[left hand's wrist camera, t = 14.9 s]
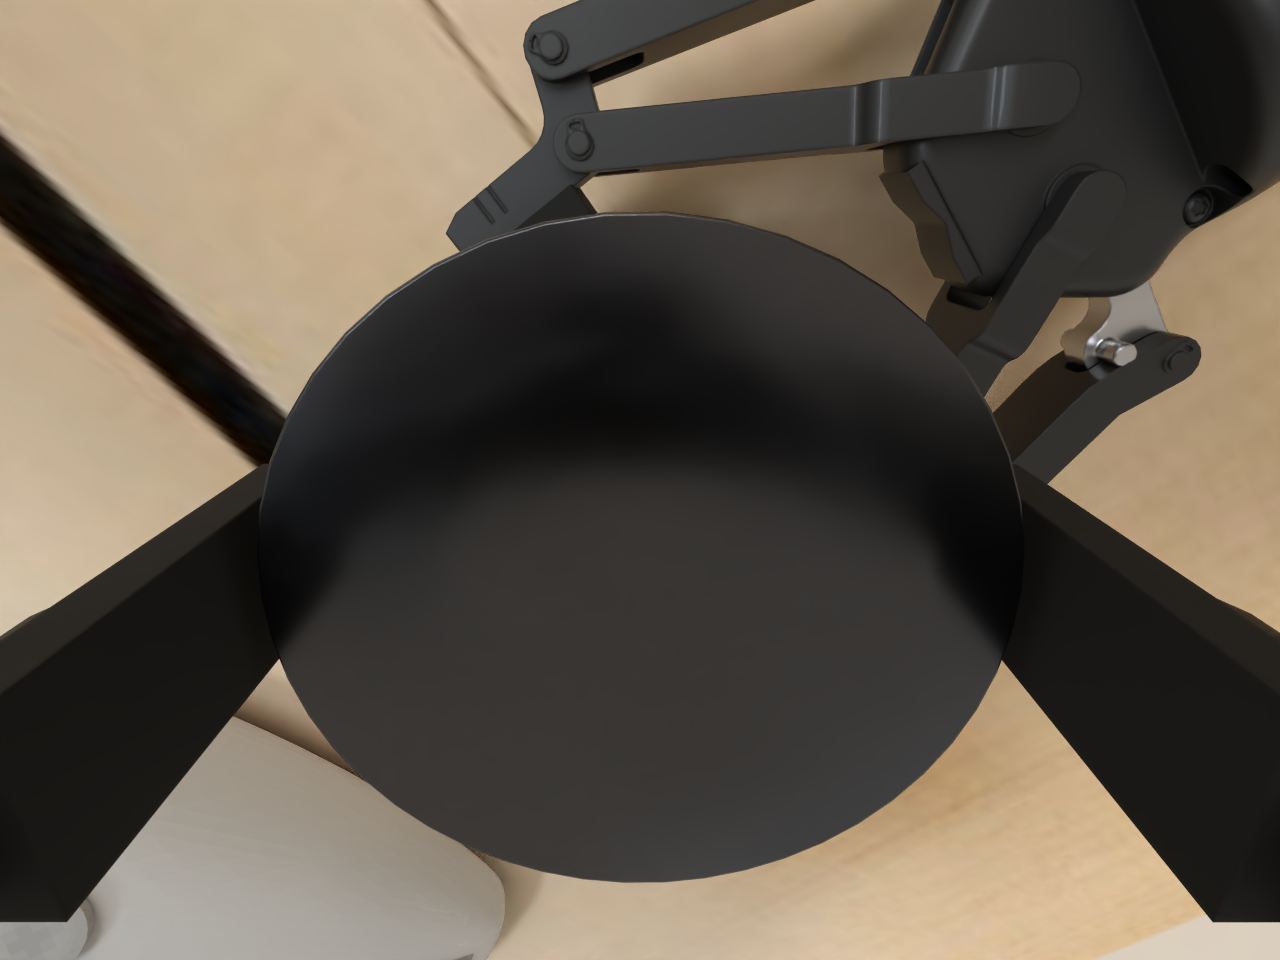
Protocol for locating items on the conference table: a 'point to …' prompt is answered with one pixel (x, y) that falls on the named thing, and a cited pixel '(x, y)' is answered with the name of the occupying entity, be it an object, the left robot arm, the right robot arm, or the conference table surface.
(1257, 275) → the conference table surface
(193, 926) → the projector
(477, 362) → the lid
